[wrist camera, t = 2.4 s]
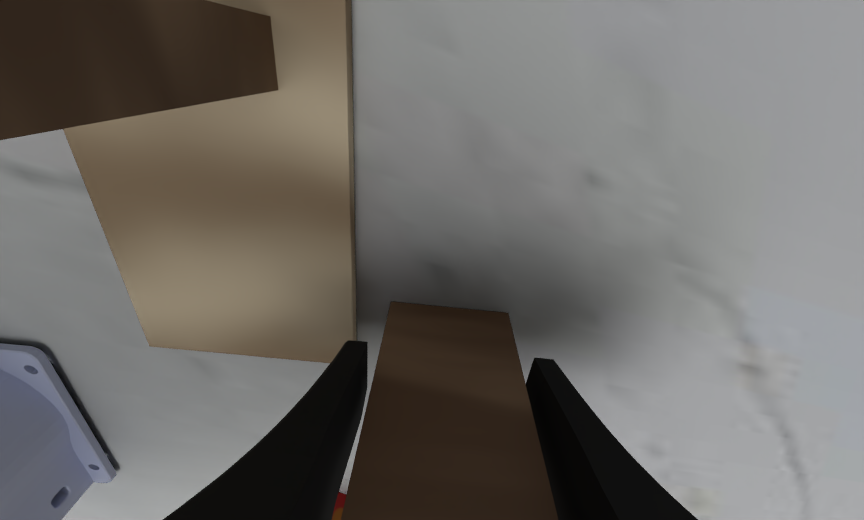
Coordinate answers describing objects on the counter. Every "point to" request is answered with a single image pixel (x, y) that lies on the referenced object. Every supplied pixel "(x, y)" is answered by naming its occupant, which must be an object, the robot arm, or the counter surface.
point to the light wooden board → (240, 201)
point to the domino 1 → (125, 59)
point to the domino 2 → (448, 424)
